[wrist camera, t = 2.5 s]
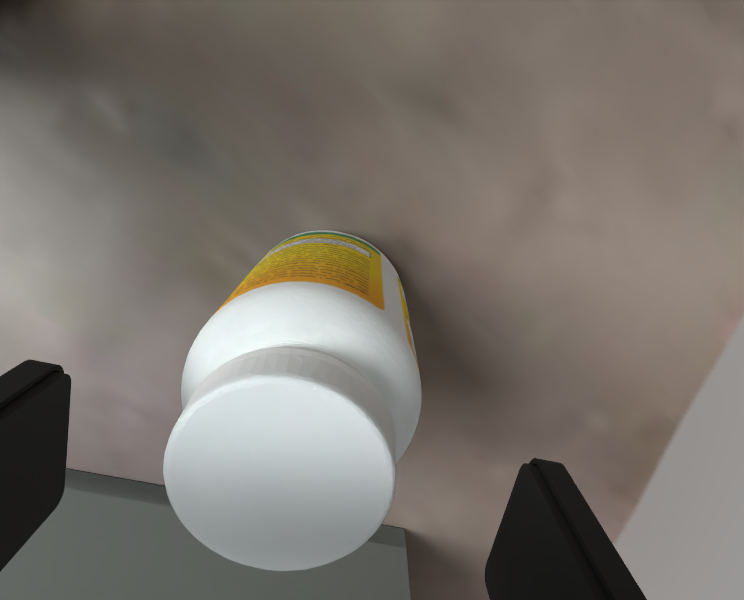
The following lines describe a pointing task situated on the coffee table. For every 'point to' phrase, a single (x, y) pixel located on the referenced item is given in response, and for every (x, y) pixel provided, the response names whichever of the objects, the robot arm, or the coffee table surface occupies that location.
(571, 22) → the coffee table surface
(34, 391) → the robot arm
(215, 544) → the supplement bottle
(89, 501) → the tote
